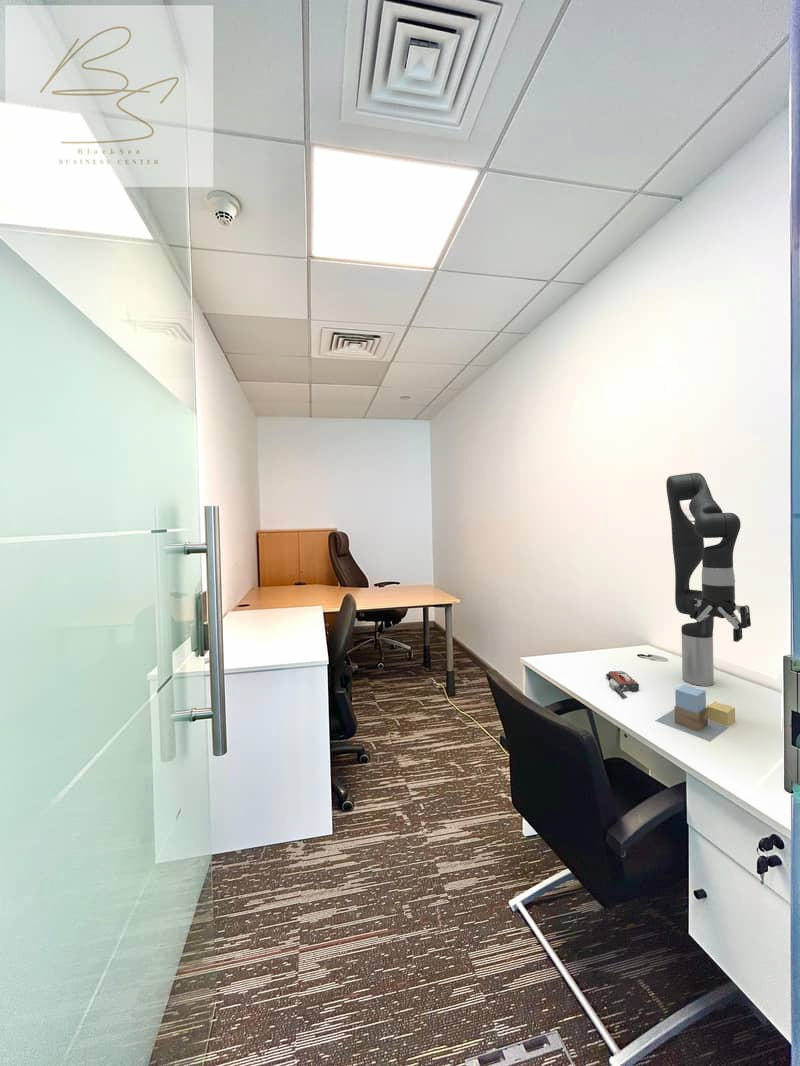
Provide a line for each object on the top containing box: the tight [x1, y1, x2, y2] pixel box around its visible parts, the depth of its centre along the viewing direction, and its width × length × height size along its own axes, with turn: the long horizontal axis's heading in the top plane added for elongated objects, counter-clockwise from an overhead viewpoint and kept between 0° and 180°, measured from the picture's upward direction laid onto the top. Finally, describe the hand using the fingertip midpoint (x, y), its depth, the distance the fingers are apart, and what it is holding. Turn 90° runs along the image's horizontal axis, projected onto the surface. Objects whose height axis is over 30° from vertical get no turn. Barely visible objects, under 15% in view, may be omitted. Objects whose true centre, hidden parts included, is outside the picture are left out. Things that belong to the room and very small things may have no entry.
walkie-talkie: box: [605, 670, 640, 699], centre depth 147 cm, size 9×4×20 cm
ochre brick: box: [706, 701, 736, 727], centre depth 120 cm, size 5×5×5 cm
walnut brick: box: [673, 705, 708, 731], centre depth 119 cm, size 6×6×5 cm
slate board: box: [655, 709, 730, 742], centre depth 119 cm, size 12×14×1 cm
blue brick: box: [674, 684, 707, 713], centre depth 119 cm, size 6×6×5 cm
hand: (719, 637), depth 119 cm, fingers open, 8 cm apart
